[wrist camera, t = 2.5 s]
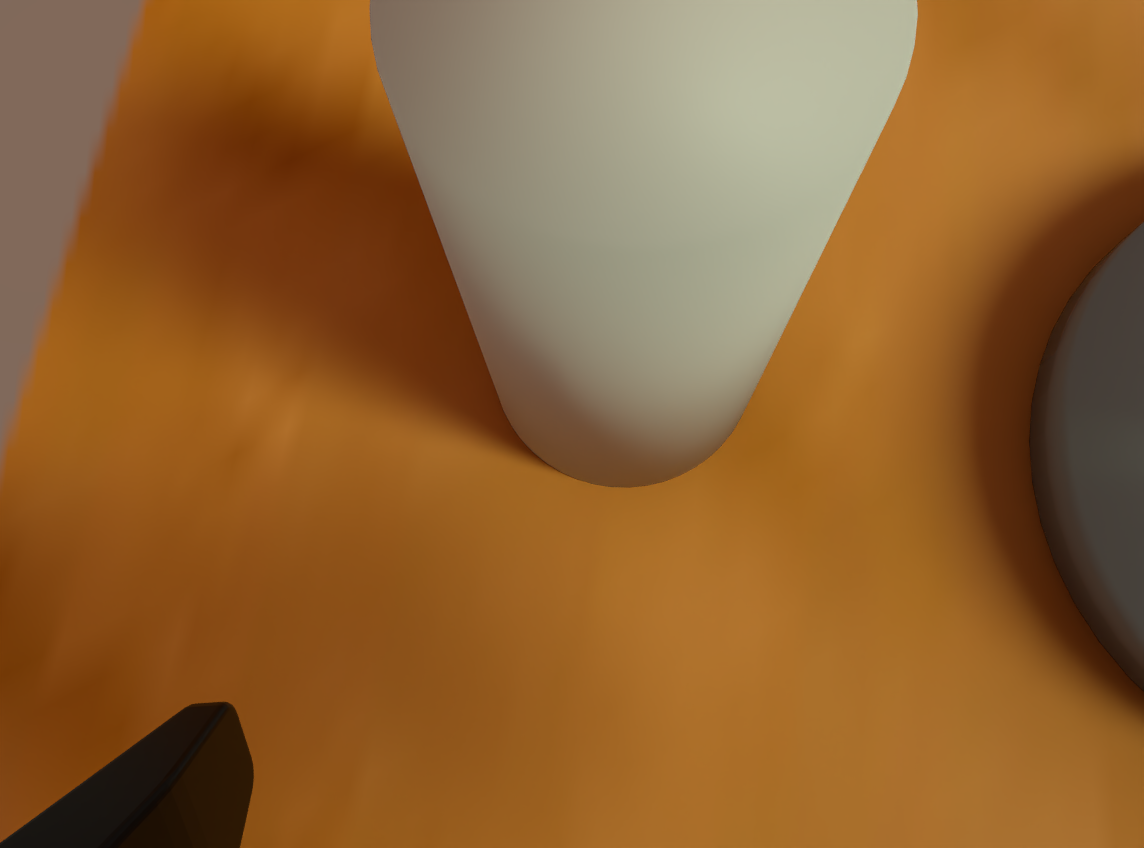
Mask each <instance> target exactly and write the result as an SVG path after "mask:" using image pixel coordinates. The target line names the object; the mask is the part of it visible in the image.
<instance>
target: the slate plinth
mask: <svg viewBox="0 0 1144 848" xmlns="http://www.w3.org/2000/svg"><path fill="white" fill-rule="evenodd" d="M1029 443H1030V457H1031V470H1032V482H1033V487H1034V492H1035V497H1036V502H1037V506H1038V511H1039V516H1040V521H1041V524H1042V527H1043V530H1044V533H1045V536H1046V539H1047V542H1048V545H1049V547H1050V550H1051V553H1052V556H1053V559H1054V562H1055V564H1056V566H1057V568H1058V570H1059V572H1060V574H1061V577H1062V579H1063V581H1064V583H1065V585H1066V587H1067V589H1068V591H1069V593H1070V595H1071V597H1072V599H1073V601H1074V603H1075V605H1076V606H1077V608H1078V609H1079V611H1080V612H1081V614H1082V615H1083V617H1084V618H1085V620H1086V622H1087V623H1088V625H1089V626H1090V628H1091V629H1092V631H1093V632H1094V634H1095V635H1096V637H1097V638H1098V640H1099V642H1100V643H1101V644H1102V645H1103V646H1104V648H1105V649H1106V650H1107V651H1108V652H1109V654H1110V655H1111V656H1112V657H1113V658H1114V660H1115V661H1116V662H1117V663H1118V665H1119V666H1120V667H1121V668H1122V669H1123V671H1124V672H1125V673H1126V674H1127V675H1128V677H1129V678H1130V679H1131V680H1132V681H1133V682H1134V683H1135V684H1136V685H1138V686H1139V687H1140V688H1141V689H1142V690H1143V691H1144V222H1143V223H1142V224H1140V225H1139V226H1138V227H1137V228H1136V229H1135V230H1134V231H1132V232H1131V233H1130V234H1129V235H1128V236H1127V237H1126V238H1124V239H1123V240H1122V241H1121V242H1120V243H1119V244H1118V245H1117V246H1116V247H1115V248H1114V249H1112V250H1111V251H1110V252H1109V253H1108V254H1107V255H1106V256H1105V257H1104V258H1103V259H1102V260H1101V261H1100V262H1099V263H1098V264H1097V265H1096V266H1095V267H1094V268H1093V269H1092V270H1091V271H1090V273H1089V274H1088V275H1087V277H1086V278H1085V279H1084V281H1083V282H1082V283H1081V285H1080V286H1079V287H1078V289H1077V290H1076V291H1075V292H1074V294H1073V295H1072V296H1071V298H1070V299H1069V301H1068V303H1067V305H1066V307H1065V308H1064V310H1063V312H1062V314H1061V316H1060V318H1059V319H1058V321H1057V323H1056V325H1055V327H1054V329H1053V330H1052V333H1051V336H1050V339H1049V341H1048V344H1047V347H1046V349H1045V352H1044V355H1043V358H1042V360H1041V363H1040V366H1039V371H1038V376H1037V380H1036V385H1035V390H1034V395H1033V399H1032V408H1031V424H1030V440H1029Z"/></svg>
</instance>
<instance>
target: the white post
mask: <svg viewBox="0 0 1144 848" xmlns="http://www.w3.org/2000/svg"><path fill="white" fill-rule="evenodd" d="M917 15H918V13H917V0H370V24H371V40H372V45H373V50H374V55H375V60H376V64H377V69H378V72H379V75H380V78H381V80H382V83H383V86H384V89H385V91H386V94H387V97H388V99H389V102H390V105H391V108H392V110H393V113H394V116H395V118H396V121H397V124H398V126H399V129H400V132H401V135H402V137H403V140H404V143H405V145H406V148H407V151H408V154H409V156H410V159H411V162H412V164H413V167H414V170H415V172H416V175H417V178H418V181H419V183H420V186H421V189H422V191H423V194H424V197H425V200H426V202H427V205H428V208H429V210H430V213H431V216H432V218H433V221H434V224H435V227H436V229H437V232H438V235H439V237H440V240H441V243H442V246H443V248H444V251H445V254H446V256H447V259H448V262H449V264H450V267H451V270H452V273H453V275H454V278H455V281H456V283H457V286H458V289H459V292H460V294H461V297H462V300H463V302H464V305H465V308H466V310H467V313H468V316H469V319H470V321H471V324H472V327H473V329H474V332H475V335H476V338H477V340H478V343H479V346H480V348H481V351H482V354H483V356H484V359H485V362H486V365H487V367H488V370H489V373H490V375H491V378H492V381H493V384H494V386H495V389H496V392H497V394H498V397H499V400H500V402H501V405H502V408H503V411H504V413H505V415H506V417H507V419H508V420H509V422H510V424H511V426H512V428H513V429H514V430H515V432H516V433H517V435H518V436H519V437H520V439H521V440H522V441H523V442H524V443H525V444H526V445H527V447H528V448H529V449H530V450H531V451H532V452H533V453H534V454H536V455H537V456H538V457H539V458H541V459H542V460H543V461H544V462H546V463H547V464H548V465H550V466H552V467H553V468H555V469H557V470H558V471H560V472H562V473H564V474H566V475H569V476H571V477H573V478H575V479H578V480H581V481H585V482H588V483H591V484H595V485H602V486H608V487H627V488H629V487H639V486H647V485H652V484H656V483H660V482H664V481H667V480H669V479H672V478H675V477H678V476H680V475H682V474H684V473H686V472H688V471H689V470H691V469H693V468H695V467H696V466H698V465H699V464H701V463H702V462H703V461H705V460H706V459H708V458H709V457H710V456H711V455H712V454H713V453H714V452H715V451H716V450H717V449H719V448H720V447H721V446H722V444H723V443H724V442H725V441H726V439H727V438H728V437H729V436H730V434H731V433H732V432H733V430H734V428H735V427H736V425H737V424H738V422H739V420H740V419H741V417H742V414H743V412H744V410H745V408H746V406H747V404H748V402H749V400H750V398H751V396H752V394H753V392H754V390H755V388H756V386H757V384H758V382H759V380H760V378H761V376H762V374H763V372H764V370H765V368H766V366H767V364H768V362H769V360H770V358H771V355H772V353H773V351H774V349H775V347H776V345H777V343H778V341H779V339H780V337H781V335H782V333H783V331H784V329H785V327H786V325H787V323H788V321H789V319H790V317H791V315H792V313H793V311H794V309H795V307H796V305H797V303H798V301H799V298H800V296H801V294H802V292H803V290H804V288H805V286H806V284H807V282H808V280H809V278H810V276H811V274H812V272H813V270H814V268H815V266H816V264H817V262H818V260H819V258H820V256H821V254H822V252H823V250H824V248H825V246H826V244H827V241H828V239H829V237H830V235H831V233H832V231H833V229H834V227H835V225H836V223H837V221H838V219H839V217H840V215H841V213H842V211H843V209H844V207H845V205H846V203H847V201H848V199H849V197H850V195H851V193H852V191H853V189H854V187H855V185H856V182H857V180H858V178H859V176H860V174H861V172H862V170H863V168H864V166H865V164H866V162H867V160H868V158H869V156H870V154H871V152H872V150H873V148H874V146H875V144H876V142H877V140H878V138H879V136H880V134H881V132H882V130H883V128H884V125H885V123H886V121H887V119H888V117H889V115H890V113H891V111H892V109H893V107H894V105H895V102H896V100H897V98H898V95H899V93H900V91H901V88H902V86H903V84H904V81H905V79H906V76H907V73H908V69H909V65H910V61H911V57H912V53H913V50H914V45H915V35H916V25H917Z"/></svg>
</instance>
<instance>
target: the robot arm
mask: <svg viewBox="0 0 1144 848" xmlns="http://www.w3.org/2000/svg"><path fill="white" fill-rule="evenodd" d="M253 779H254V770H253V762H252V758H251V754H250V751H249V748H248V745H247V742H246V739H245V736H244V733H243V730H242V727H241V724H240V721H239V718H238V714H237V712H236V710H235V708H234V707H233V705H231V704H230V703H228V702H213V703H198V704H191V705H189V706H187V707H185V708H184V709H183V710H181V711H180V712H178V713H177V714H176V715H174V716H173V717H172V718H170V719H169V720H167V721H166V722H165V723H163V724H162V725H161V726H159V727H158V728H157V729H155V730H154V731H152V732H151V733H150V734H148V735H147V736H146V737H144V738H143V739H142V740H140V741H139V742H137V743H136V744H135V745H133V746H132V747H131V748H129V749H128V750H127V751H125V752H124V753H122V754H121V755H120V756H118V757H117V758H116V759H114V760H113V761H111V762H110V763H109V764H107V765H106V766H105V767H103V768H102V769H101V770H99V771H98V772H96V773H95V774H94V775H92V776H91V777H90V778H88V779H87V780H86V781H84V782H83V783H81V784H80V785H79V786H77V787H76V788H75V789H73V790H72V791H71V792H69V793H68V794H66V795H65V796H64V797H62V798H61V799H60V800H58V801H57V802H55V803H54V804H53V805H51V806H50V807H49V808H47V809H46V810H45V811H43V812H42V813H40V814H39V815H38V816H36V817H35V818H34V819H32V820H31V821H30V822H28V823H27V824H25V825H24V826H23V827H21V828H20V829H19V830H17V831H16V832H15V833H13V834H12V835H10V836H9V837H8V838H6V839H5V840H4V841H2V842H1V843H0V848H240V845H241V840H242V835H243V831H244V826H245V821H246V817H247V812H248V808H249V803H250V798H251V794H252V788H253Z"/></svg>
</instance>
